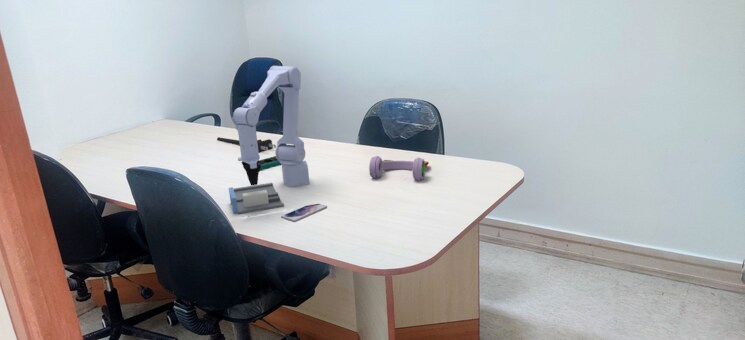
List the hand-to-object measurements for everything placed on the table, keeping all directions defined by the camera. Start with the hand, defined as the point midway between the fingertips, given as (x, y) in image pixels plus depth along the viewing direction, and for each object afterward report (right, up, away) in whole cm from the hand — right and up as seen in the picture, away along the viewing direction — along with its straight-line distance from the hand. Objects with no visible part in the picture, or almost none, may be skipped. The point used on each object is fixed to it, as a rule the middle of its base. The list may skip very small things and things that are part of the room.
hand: (253, 183), depth 183 cm
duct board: (-1, -6, +8) cm, 10 cm away
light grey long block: (+2, -7, +3) cm, 8 cm away
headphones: (+51, +3, +30) cm, 59 cm away
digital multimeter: (-4, +6, +47) cm, 47 cm away
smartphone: (+18, -10, -4) cm, 21 cm away
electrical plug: (-22, +15, +79) cm, 83 cm away
